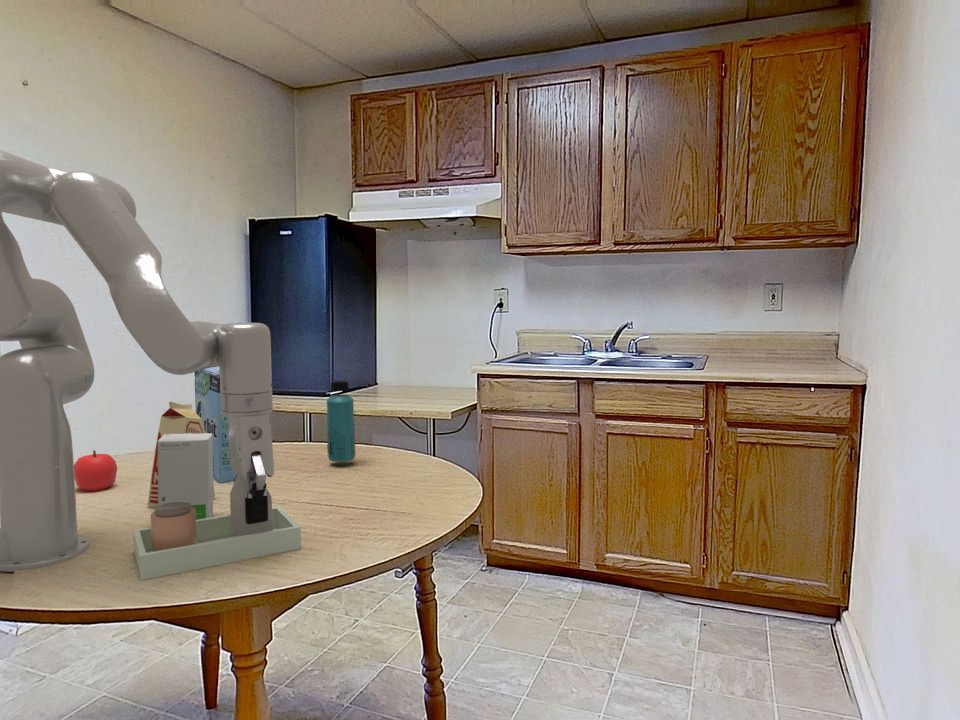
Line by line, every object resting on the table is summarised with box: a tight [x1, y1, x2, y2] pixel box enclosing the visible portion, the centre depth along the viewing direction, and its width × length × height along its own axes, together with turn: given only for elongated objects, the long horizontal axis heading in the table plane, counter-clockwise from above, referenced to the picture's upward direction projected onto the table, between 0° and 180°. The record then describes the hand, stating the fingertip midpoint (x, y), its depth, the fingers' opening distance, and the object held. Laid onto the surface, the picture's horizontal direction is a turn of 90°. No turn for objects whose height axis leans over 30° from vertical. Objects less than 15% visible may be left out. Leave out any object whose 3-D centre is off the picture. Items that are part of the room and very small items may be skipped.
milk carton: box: [147, 401, 216, 509], centre depth 125 cm, size 9×9×20 cm
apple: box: [74, 449, 118, 492], centre depth 136 cm, size 8×8×8 cm
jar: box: [150, 502, 197, 552], centre depth 97 cm, size 6×6×8 cm
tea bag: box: [229, 474, 273, 536], centre depth 102 cm, size 4×7×10 cm, turn 43°
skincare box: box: [158, 433, 214, 520], centre depth 113 cm, size 8×7×16 cm
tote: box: [132, 505, 302, 582], centre depth 100 cm, size 22×12×4 cm, turn 122°
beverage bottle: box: [326, 380, 356, 463], centre depth 154 cm, size 6×7×20 cm
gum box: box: [194, 367, 234, 484], centre depth 147 cm, size 19×5×23 cm, turn 37°
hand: (250, 514), depth 103 cm, fingers closed on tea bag, 7 cm apart
